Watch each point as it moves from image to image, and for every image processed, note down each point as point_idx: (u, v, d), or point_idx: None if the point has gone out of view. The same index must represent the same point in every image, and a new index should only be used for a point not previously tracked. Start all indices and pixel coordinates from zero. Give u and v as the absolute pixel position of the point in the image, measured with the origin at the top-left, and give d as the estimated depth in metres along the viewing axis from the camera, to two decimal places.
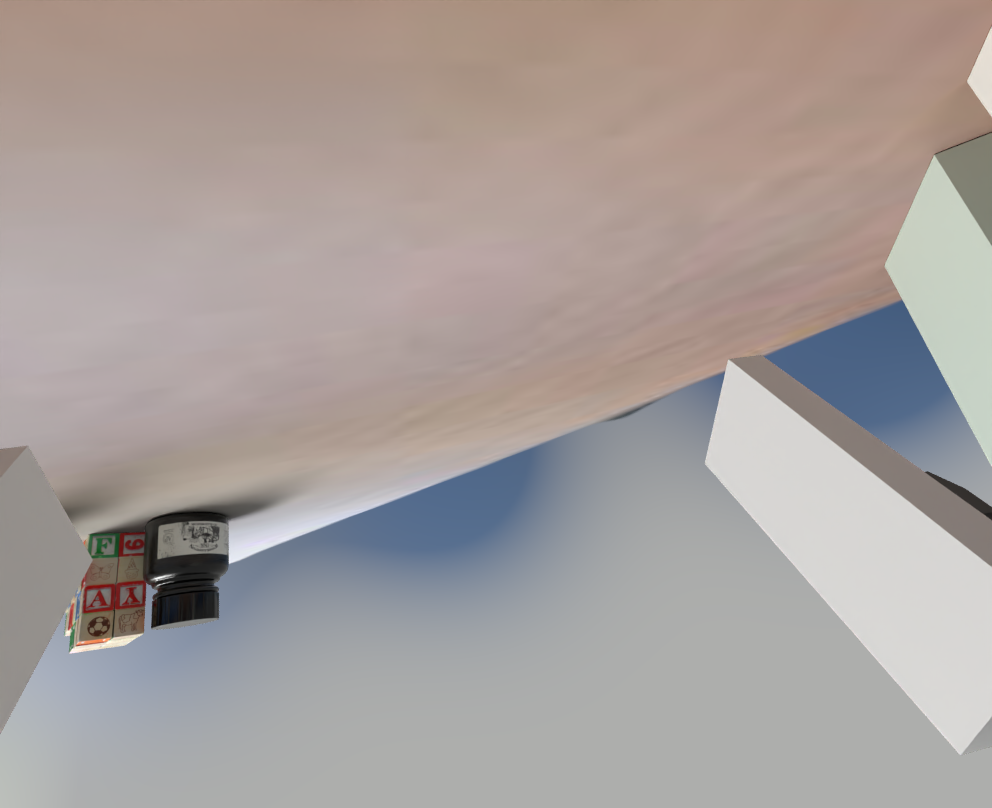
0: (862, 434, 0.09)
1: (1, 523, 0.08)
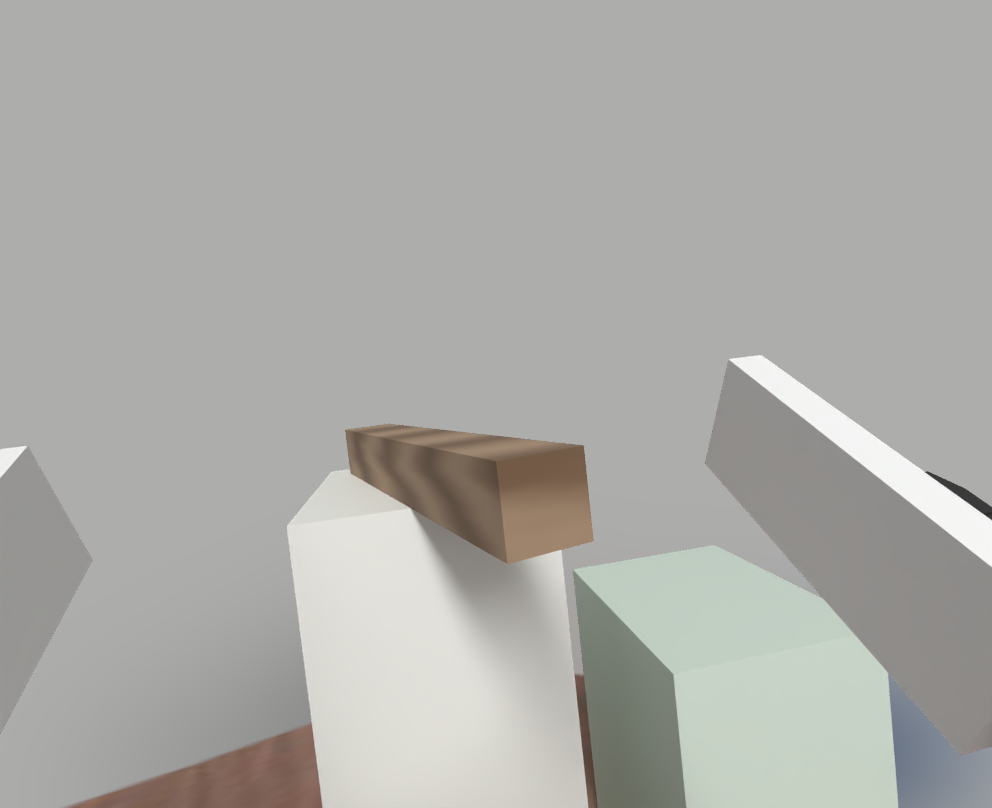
0: (862, 434, 0.09)
1: (0, 522, 0.08)
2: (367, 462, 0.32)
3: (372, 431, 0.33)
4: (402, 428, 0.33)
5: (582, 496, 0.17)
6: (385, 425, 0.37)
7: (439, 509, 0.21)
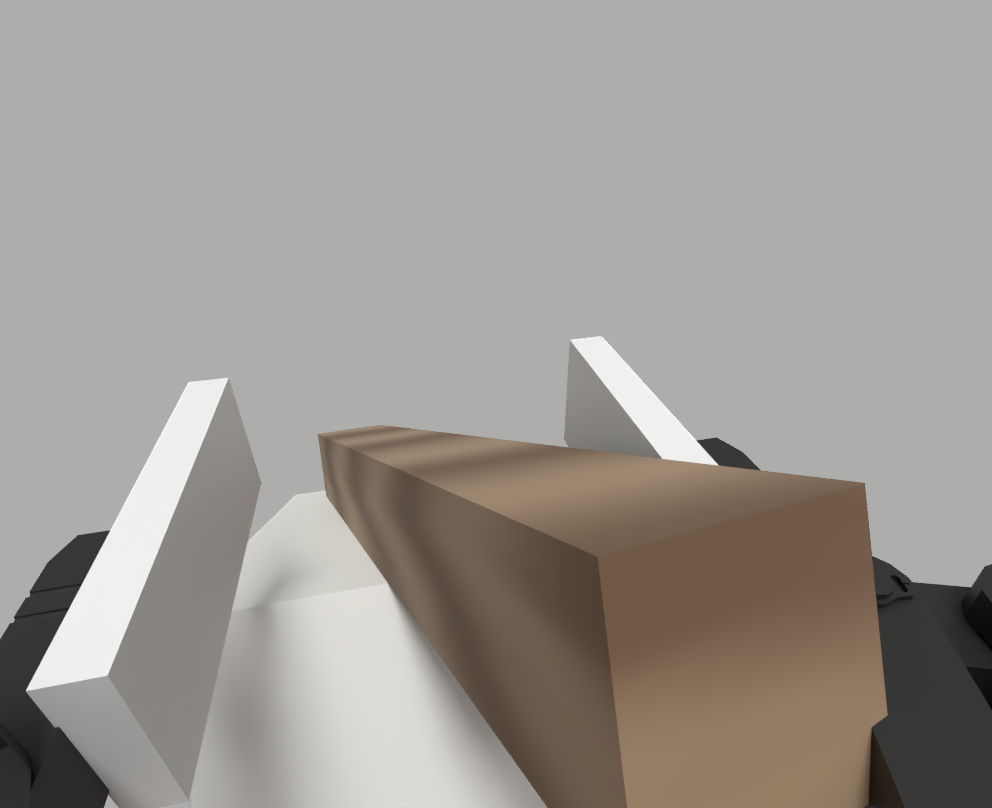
0: (658, 404, 0.10)
1: (222, 435, 0.10)
2: (338, 484, 0.21)
3: (347, 436, 0.22)
4: (392, 431, 0.21)
5: (864, 649, 0.05)
6: (374, 427, 0.26)
7: (430, 611, 0.09)
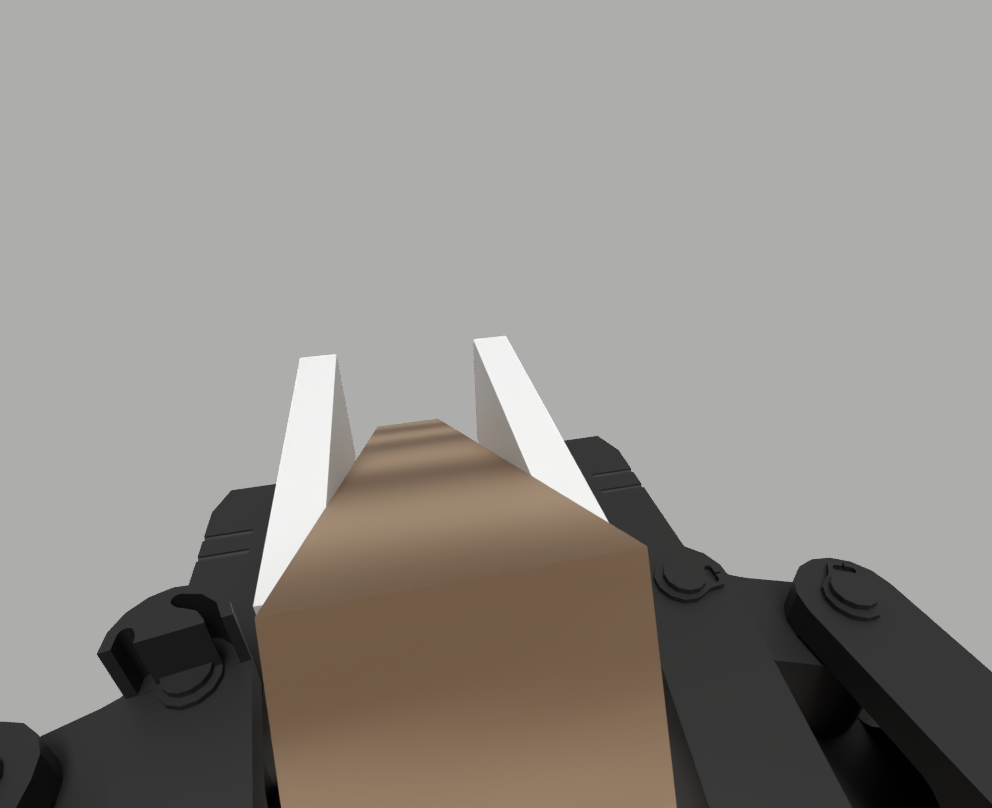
0: (539, 402, 0.10)
1: (339, 405, 0.11)
2: None
3: (390, 431, 0.23)
4: (430, 428, 0.22)
5: (642, 739, 0.04)
6: (428, 421, 0.27)
7: None
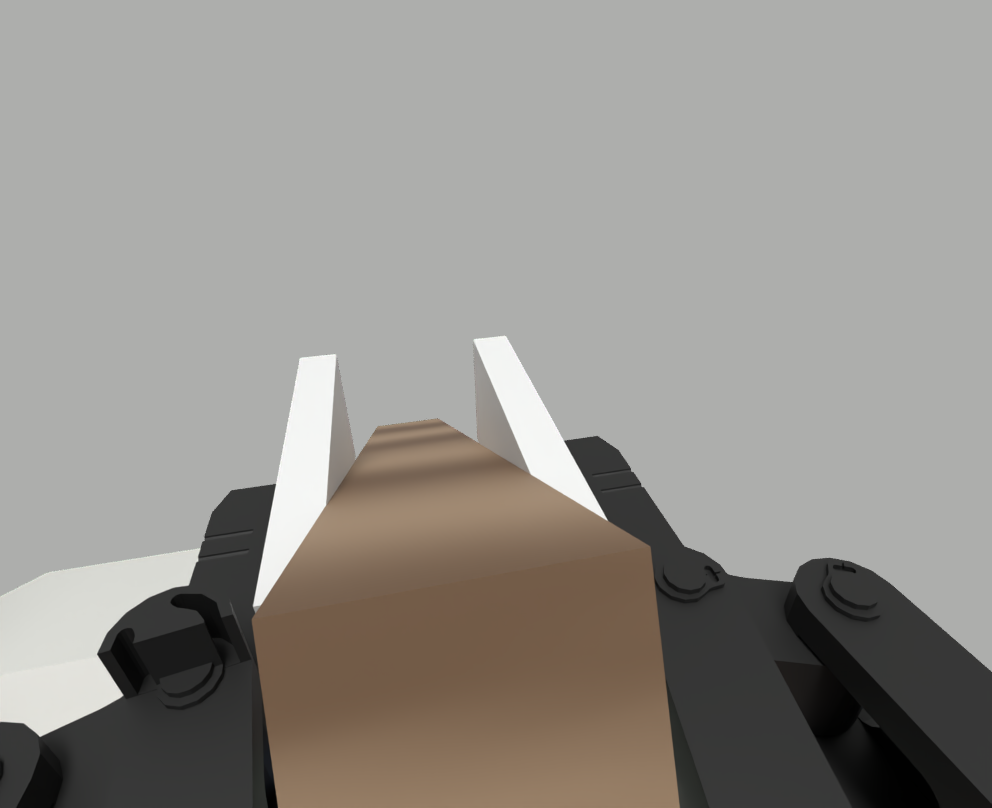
0: (540, 402, 0.10)
1: (338, 405, 0.11)
2: None
3: (389, 431, 0.22)
4: (430, 427, 0.22)
5: (645, 742, 0.04)
6: (428, 421, 0.27)
7: None
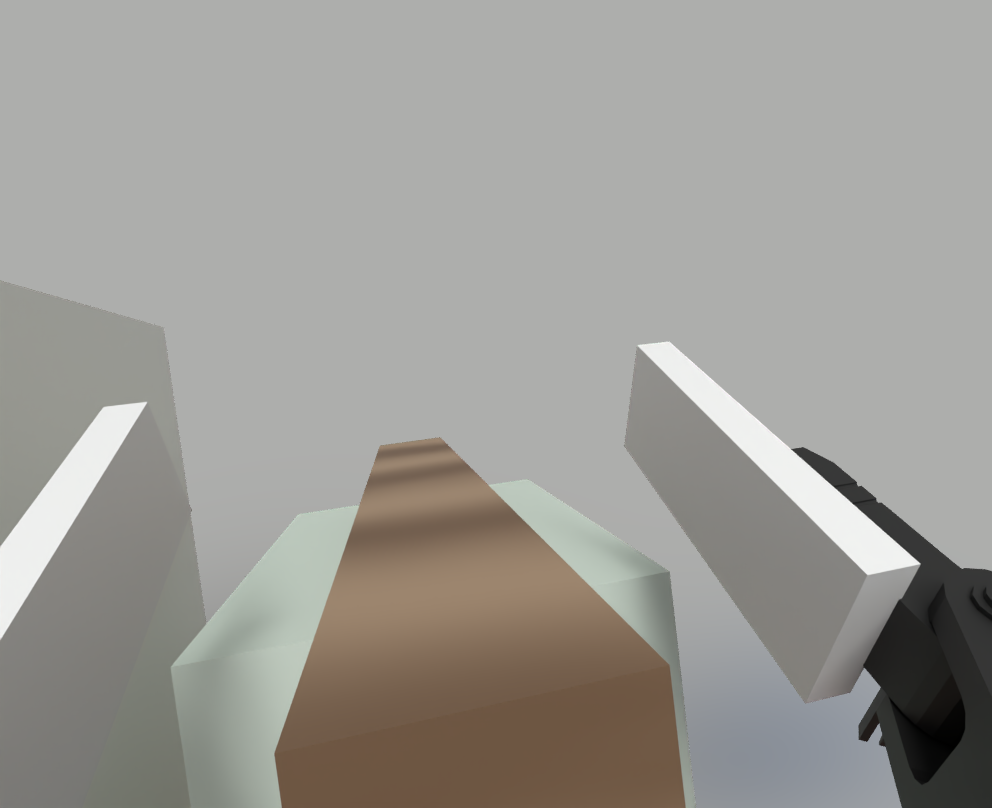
0: (742, 412, 0.10)
1: (134, 465, 0.10)
2: None
3: (392, 454, 0.22)
4: (433, 451, 0.22)
5: None
6: (430, 441, 0.27)
7: None
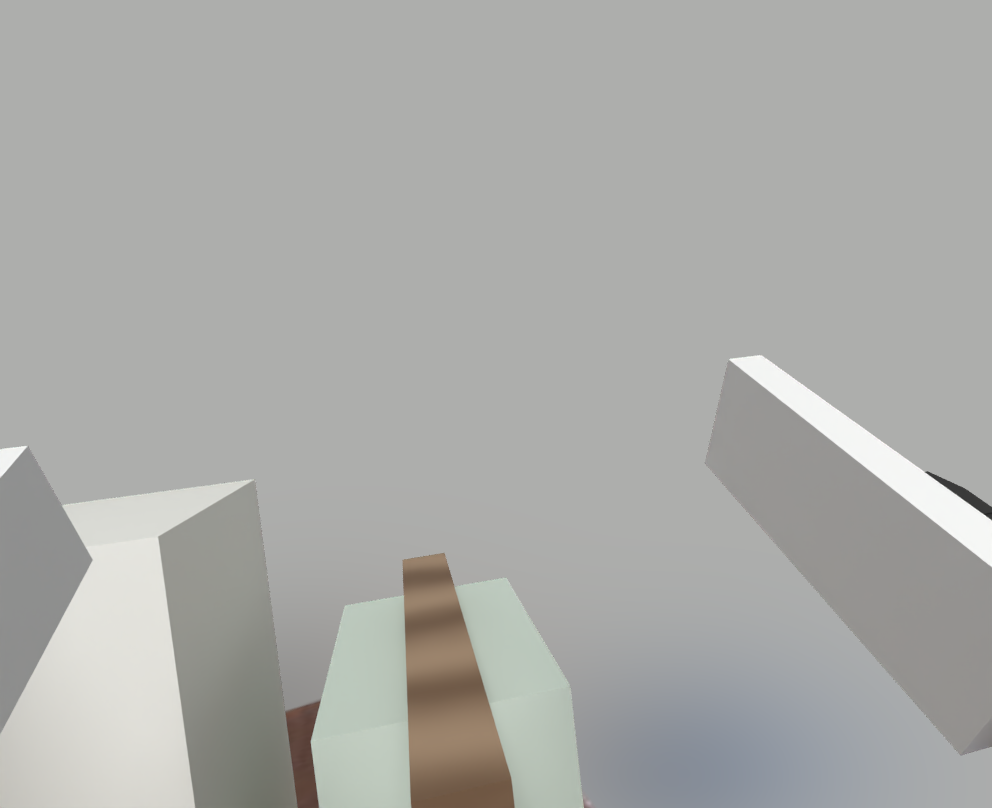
0: (862, 434, 0.09)
1: (1, 522, 0.08)
2: None
3: (414, 582, 0.35)
4: (440, 583, 0.34)
5: None
6: (438, 559, 0.39)
7: None
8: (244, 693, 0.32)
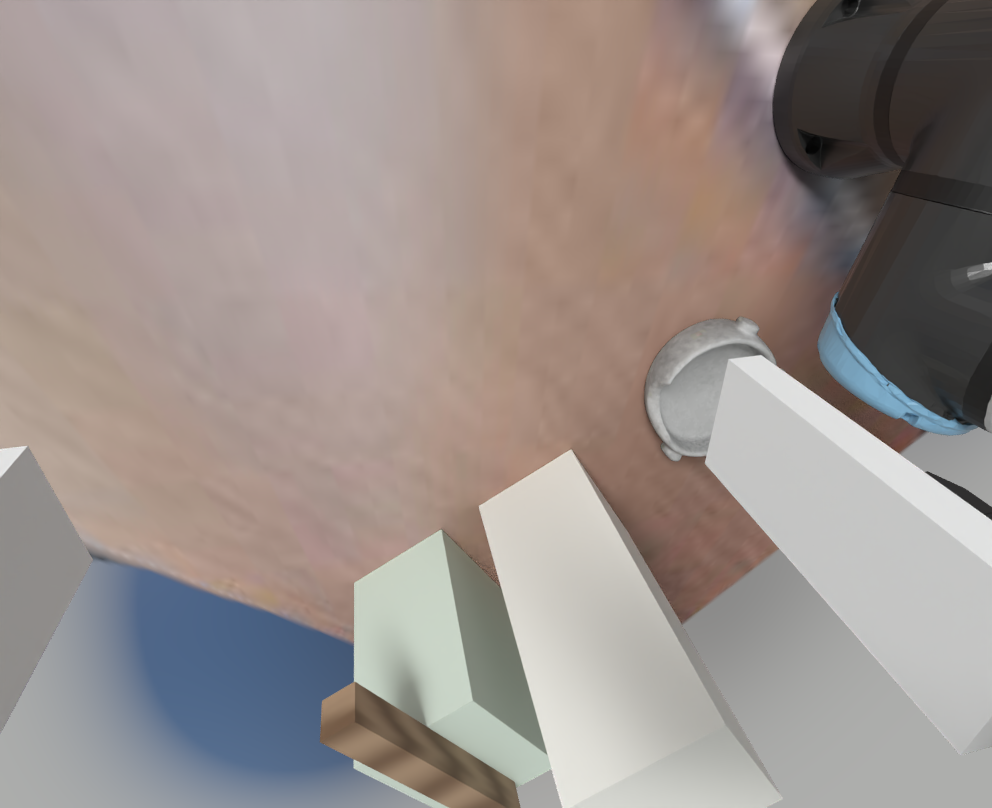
0: (862, 434, 0.09)
1: (1, 522, 0.08)
2: (485, 776, 0.49)
3: (487, 803, 0.48)
4: None
5: (323, 718, 0.40)
6: None
7: (401, 718, 0.43)
8: None
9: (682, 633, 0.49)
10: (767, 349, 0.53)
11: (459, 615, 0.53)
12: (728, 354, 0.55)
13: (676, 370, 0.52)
